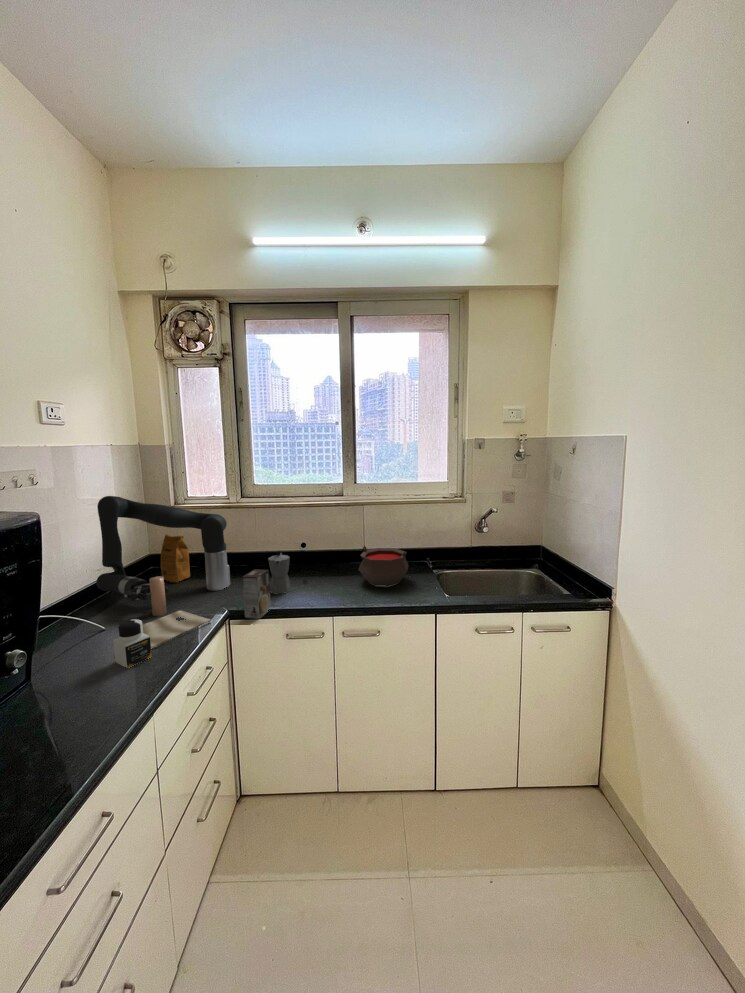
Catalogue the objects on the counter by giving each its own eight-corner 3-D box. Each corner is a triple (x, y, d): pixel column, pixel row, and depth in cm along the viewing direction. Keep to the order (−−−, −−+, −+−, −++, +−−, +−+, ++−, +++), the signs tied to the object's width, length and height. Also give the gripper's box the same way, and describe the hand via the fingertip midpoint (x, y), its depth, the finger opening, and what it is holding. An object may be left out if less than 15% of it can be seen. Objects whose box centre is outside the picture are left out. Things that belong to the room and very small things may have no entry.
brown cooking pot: (418, 579, 186) (418, 545, 184) (393, 595, 166) (393, 557, 164) (375, 571, 199) (375, 539, 197) (347, 585, 179) (347, 550, 177)
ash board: (180, 613, 151) (180, 610, 151) (211, 622, 142) (211, 619, 142) (120, 637, 132) (120, 633, 132) (151, 650, 123) (151, 646, 123)
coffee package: (176, 574, 198) (172, 532, 195) (193, 577, 193) (190, 533, 190) (158, 580, 189) (154, 536, 187) (175, 584, 184) (172, 538, 181)
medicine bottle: (127, 669, 113) (123, 629, 111) (115, 662, 116) (111, 624, 115) (152, 657, 119) (148, 620, 117) (139, 651, 122) (136, 615, 121)
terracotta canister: (161, 610, 154) (158, 575, 153) (169, 612, 152) (166, 577, 150) (149, 614, 150) (146, 579, 149) (157, 617, 148) (154, 581, 146)
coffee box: (256, 608, 155) (254, 568, 153) (271, 609, 153) (269, 569, 151) (244, 618, 146) (241, 576, 144) (260, 619, 145) (257, 577, 143)
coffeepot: (290, 595, 167) (288, 554, 165) (267, 597, 166) (265, 555, 164) (292, 583, 183) (291, 545, 180) (271, 584, 181) (270, 546, 179)
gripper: (113, 583, 152) (137, 590, 144) (150, 573, 164) (173, 578, 156) (115, 601, 153) (139, 609, 145) (151, 590, 165) (175, 597, 157)
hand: (157, 593), depth 150 cm, fingers open, 8 cm apart
